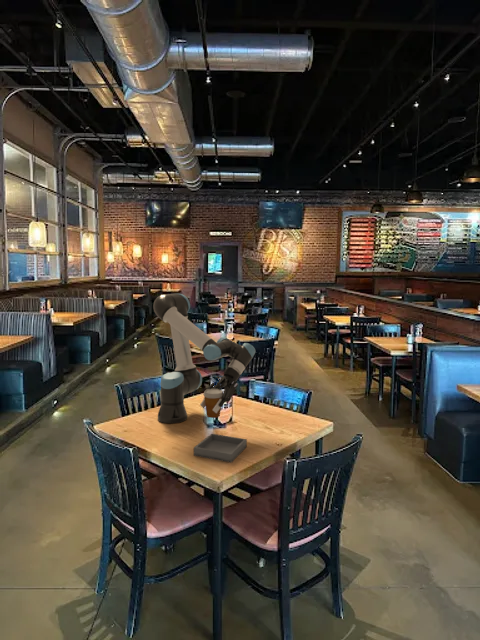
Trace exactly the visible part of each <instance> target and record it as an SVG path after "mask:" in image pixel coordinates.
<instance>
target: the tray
mask: <svg viewBox="0 0 480 640" xmlns="http://www.w3.org/2000/svg"><path fill="white" fill-rule="evenodd" d="M247 443H248V442H247V439H246V438H241V437H234V436H229V435H223V434H218V433H217V434H216V433H210V434H209V435H208V436H207V437H205V438H204V439H202V440H201V441H200V442H198V444H197V445H195V446H193V456H195V457H200V458H205V459H210V460H214V461H215V460H216V461H221V462H226V463H231V464H232V463H233V462H234V460H235V459H236V458H238V456H240V454H241V453H242V452H244V450H245V449H246V448H247Z"/></svg>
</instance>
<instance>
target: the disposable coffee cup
mask: <svg viewBox="0 0 480 640" xmlns="http://www.w3.org/2000/svg"><path fill="white" fill-rule="evenodd" d="M206 389H207V388H206ZM206 389H205V390H204V392H203V396H204V397H205V405H206V406H205V413H206V417H207V418H211V419H217V418H219V417H220V416H221V408H222V407H221V408H220V409H219V411H218V412H217V414H216V413H215V412H214V411H213V408H214V407H215V405H216V404H217V402H218V401H219V399H222V396H223V392H224V390H222V389H221V388H220V389H207V390H206ZM204 397H203V398H204Z"/></svg>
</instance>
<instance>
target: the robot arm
mask: <svg viewBox="0 0 480 640" xmlns="http://www.w3.org/2000/svg"><path fill="white" fill-rule="evenodd" d="M152 308H153V312H154V313H155V315H156V316H157V317H158V319H160V320H161V321H162V322H164V323H165V324H166V323H168V324H169V325H170V332H171V338H172V343H173V350H174V357H175V361H176V367H175V369H174V371H172V372H167V373H165V374H163V375H162V376H161V377H160V382H159V383H160V384H159V385H160V407H159V410H158V413H157V420H158V421H159V422H160V423H164V424H177V423H182V422H186V420H187V419H188V413H187V410H186V407H185V404H184V402H185V401H184V397H185V395H187V394H190V393H193V392H195V391H196V390H198V389H199V388H200V387H201V385H202V383H203V375H202V374H201V372H199V370H198V369H197V366H196V365H195V364H194V363H193V357H192V353H191V346H190V345H191V344H190V343H192V344H193V345H195V347H197V348H199V350H201V351H202V354H203V357H204V358H205V359H206V360H208V361H216V360H219V359H221V358H224V357H230V358H231V359H232V360H231V361H230V363H229V364H228V367H226V369H225V370H224V372H223V376H221V377H220V376H216V378H218V380H219V379H220V380H219V382H218V383H217V385H215V386H214V383H213V382H212V383H211V384H210V385H209V386H208V387H207V388H206V389H205V390H207V389H220V390H221V389H222V388H224V389H223V396H222V399H219V401H218V402H217V404H216V405H215V407H214V408H213V411H214V412H215V413H216V414H217V412H218V411H219V409H220V408H222V407H223V406H224V404H225V403H226V402H228V403H229V402H230V401H231V399H232V398H233V395H234V393H235V390H236V389H237V388H238V386H239V384H238V382H237V381H238V379H239V378H240V377H241V375H242V373H244V370H245V369H246V368H247V366H248V365H249V363H250V362H251V360H252V359H253V358H254V356H255V354H256V348H255V347H254V346H253V345H252V344H251V343H248V342H244V343H243V344H242V345H241V344H239V343H237V342H234V341H232V340H230V339H229V338H226V337H224V336H222V337H220V338H219V339H217V341H215V339H213V338H211V337H210V336H209V335H208V334H206V332H204V331H203V330H202V329H200V328H199V327H198V326H196V324H195V323H193V322H192V321H191V320H189V319H188V317H189V316H188V312H189V311H190V309H191V302H190V300H189V299H188V297H187V296H186V295H184V294H183V293H167V294H160V295H158V296H157V297H156V298H155V299H154V302H153V307H152ZM216 378H215V379H216ZM213 386H214V387H213ZM199 406H201V408H202V409H205V408H206V405H205V397H203V400H202V401H201V403H200V404H199Z"/></svg>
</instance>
